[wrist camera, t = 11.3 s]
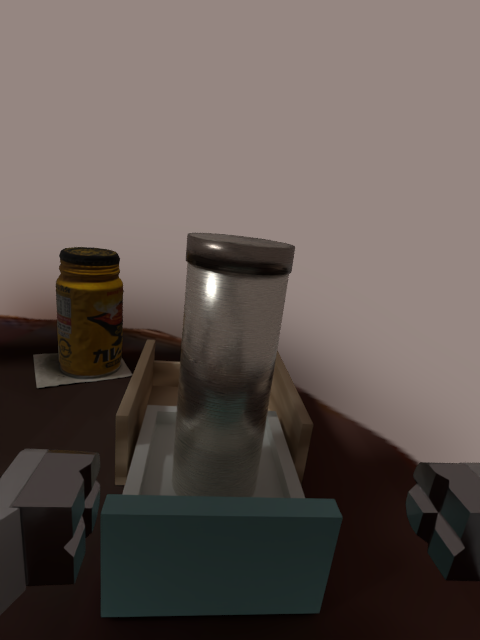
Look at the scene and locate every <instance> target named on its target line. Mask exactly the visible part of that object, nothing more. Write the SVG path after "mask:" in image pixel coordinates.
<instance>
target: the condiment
mask: <svg viewBox="0 0 480 640" xmlns="http://www.w3.org/2000/svg"><path fill="white" fill-rule="evenodd" d="M59 256H60V262H61V264H60V266H59V270H60V272H61V275H60V276H59V278H58V279H57V281H56V300H57V325H58V331H57V333H58V352H59V353H55V354H37V355H33V357H34V367H35V374H36V384H37V388H42V387H46V386H57V385H60V384H71V383H79V382H92V381H99V380H107V379H115V378H122V377H128V376H131V375H132V373H131V371H130V370H129V368H128V367H127V366H126V364H125V362H124V360H123V359H122V339H123V338H122V325H123V323H122V322H123V316H122V313H123V312H122V311H123V309H122V307H123V306H122V305H123V283H122V281H121V279H120V278H119V276H118V275H119V273H120V270H119V261H120V258H119V256H118V254H117V253H116V252H114V251H111V250H107V249H99V248H85V247H74V248H65V249H63V250H61V252H60V255H59ZM58 375H60V376H58ZM62 376H65V377H62Z"/></svg>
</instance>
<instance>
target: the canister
mask: <svg viewBox="0 0 480 640" xmlns="http://www.w3.org/2000/svg"><path fill="white" fill-rule="evenodd" d="M294 251H295V246H293V245H290V244H286V243H281V242H277V241H271V240H265V239H258V238H251V237H243V236H234V235H225V234H211V233H189V234H188V236H187V250H186V261H187V262H188V265H187V279H186V292H185V305H184V319H183V332H182V346H181V359H180V373H179V386H178V400H177V414H176V427H175V441H174V454H173V468H172V486H173V489H174V491H175V493H176V495H177V496H215V497H253V495H254V493H255V490H256V484H257V478H258V471H259V465H260V458H261V452H262V445H263V439H264V432H265V426H266V419H267V413H268V406H269V400H270V393H271V387H272V380H273V374H274V367H275V361H276V354H277V348H278V341H279V334H280V328H281V322H282V315H283V309H284V302H285V296H286V289H287V283H288V276H289V273H291V271H292V264H293V258H294Z"/></svg>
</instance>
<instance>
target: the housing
mask: <svg viewBox="0 0 480 640" xmlns="http://www.w3.org/2000/svg"><path fill="white" fill-rule="evenodd" d="M154 357H155V340H147V342H146V344H145V347H144V349H143V351H142V354H141V356H140V359H139V361H138V364H137V366H136V368H135V371H134V373H133V376H132V378H131V380H130V383H129V385H128V388H127V390H126V392H125V395H124V397H123V400H122V402H121V404H120V407H119V409H118V412H117V414H116V450H115V485H125V483H126V480H127V476H128V473H129V469H130V466H131V462H132V459H133V455H134V451H135V448H136V444H137V441H138V437H139V434H140V430H141V427H142V423H143V419H144V416H145V412H146V409H147V405H160V406H177V400H178V386H179V373H180V362H172V361H157V360H154ZM268 411H276V413H277V416H278V419H279V422H280V425H281V428H282V431H283V434H284V437H285V440H286V443H287V446H288V449H289V451H290V454H291V457H292V460H293V463H294V466H295V469H296V472H297V475H298V478H299V481H300V484H301V485H302V480H303V475H304V470H305V465H306V460H307V455H308V449H309V444H310V439H311V434H312V429H313V423H312V421H311V418H310V416H309V414H308V412H307V410H306V408H305V406H304V404H303V402H302V400H301V398H300V396H299V394H298V392H297V390H296V388H295V386H294V384H293V382H292V379H291V377H290V375H289V373H288V371H287V369H286V367H285V365H284V363H283V361H282V359H281V357H280V355H279V353H278V351H277V354H276V361H275V367H274V374H273V380H272V387H271V393H270V400H269V406H268Z"/></svg>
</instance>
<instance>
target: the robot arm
mask: <svg viewBox="0 0 480 640" xmlns="http://www.w3.org/2000/svg"><path fill="white" fill-rule="evenodd" d="M99 470H100V455H99V454H98V452H86V451H67V450H44V449H25V450H23V451H21V452H20V453H19V454H18V455H17V457H16V458H15V459H14V461H13V462H12V463H11V465H10V466H9V467H8V469H7V470H6V471H5V473H4V474H3V475H2V477H1V478H0V615H1V614H2V613H3V612H4V611H5V610H6V609H7V608H8V607H9V606H10V605H11V604H12V603H13V602H14V601H15V600H16V599H17V598H18V597H19V596H20V595H21V594H22V593H23V592H24V591H25V590H26V586H45V585H70V584H75V581H76V578H77V575H78V572H79V569H80V566H81V563H82V561H83V558H84V555H85V538H87V537H88V536H89V535H90V534H91V533H92V531H93V528H94V525H95V522H96V518H97V513H98V508H99V501H100V484H99V483H98V482H97V481H96V478H97V475H98V472H99ZM413 477H414V479H415V481H416V485H415V486H414V487H413V488H412V489H411V490H410V491H409V492H408V496H407V500H406V511H407V517H408V520H409V522H410V525H411V527H412V528H413V530H414V532H415V533H416V535H417V536H419V537H420V538H422V539H423V540H424V541H426V542H427V543H428V554H429V555H430V557H431V558H432V560H433V562H434V563H435V565H436V566H437V568H438V569H439V571H440V572H441V574H442V575H443V577H444V579H445V580H446V581H480V463H458V464H457V463H422V462H420V463H419V465H418V466H417V467H416V469H415V472H414V475H413Z"/></svg>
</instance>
